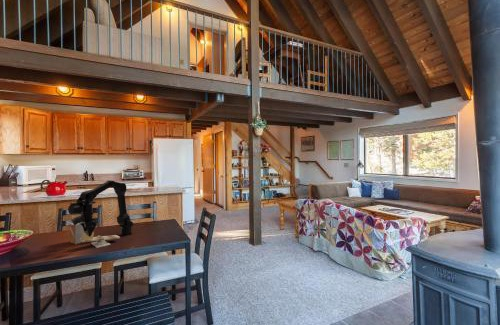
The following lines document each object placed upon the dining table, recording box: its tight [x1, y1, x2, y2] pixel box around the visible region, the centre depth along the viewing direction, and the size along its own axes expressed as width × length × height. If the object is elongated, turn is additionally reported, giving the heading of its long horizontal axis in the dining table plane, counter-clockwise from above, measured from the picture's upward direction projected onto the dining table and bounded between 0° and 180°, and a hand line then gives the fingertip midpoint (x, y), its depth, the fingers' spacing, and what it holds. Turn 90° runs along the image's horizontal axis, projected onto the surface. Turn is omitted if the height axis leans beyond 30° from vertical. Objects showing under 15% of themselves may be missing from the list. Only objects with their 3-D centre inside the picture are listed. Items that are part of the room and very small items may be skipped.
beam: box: [80, 234, 121, 243], centre depth 168 cm, size 22×7×1 cm, turn 137°
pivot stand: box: [91, 234, 111, 249], centre depth 168 cm, size 8×12×5 cm, turn 46°
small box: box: [68, 222, 84, 245], centre depth 173 cm, size 8×6×13 cm
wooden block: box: [82, 231, 95, 240], centre depth 162 cm, size 5×5×4 cm
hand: (87, 235), depth 162 cm, fingers open, 9 cm apart
